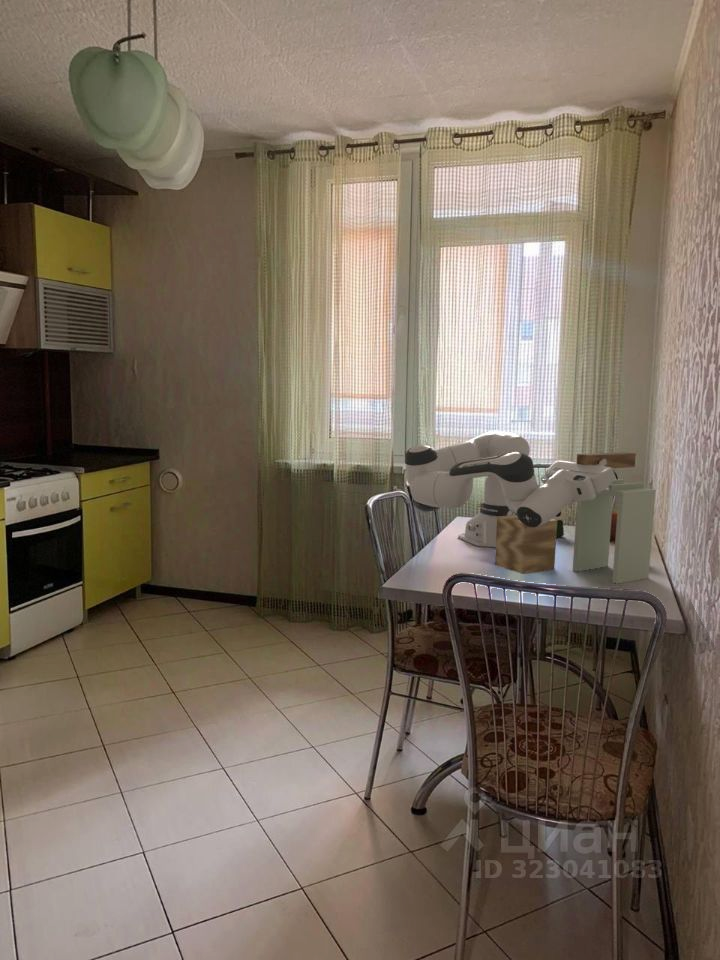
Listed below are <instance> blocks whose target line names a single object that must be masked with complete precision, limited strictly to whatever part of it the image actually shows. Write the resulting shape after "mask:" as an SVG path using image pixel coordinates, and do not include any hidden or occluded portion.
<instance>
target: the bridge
mask: <svg viewBox="0 0 720 960" xmlns="http://www.w3.org/2000/svg"><path fill="white" fill-rule="evenodd" d="M644 485H645V483H644V482H629V483H627V482H625V479H624V478H623V479H621V478H620V479H615V480H614V481H613V482H612V483H611V484H610V485H609V486H608V487H607V488H606V489H604V490H603V491H602V492H600V493H596V497H595V498H594V499H593V500H585V501H577V502H576V513H575V515H576V516H575V526H574V527H575V529H574V543H573V544H574V546H573V559H572V571H573V572H575V571H576V572H575V573H578V572H577V571H579V572H583V570H585V571H590V570H589V569H591V570H596V569H595V568H597V569H601V568H600V567H603V568H607V567H606V566H608V567H609V558H610V555H609V554H610V543H611V541H610V531H611V517H612V510H613V500H614V497H617V498H618V502H617V510H618V512H617V526H616V539H615V540H614V541H615V542H614V543H615V544H614V555H613V569H612V580H611V582H612V584H615V583H616V585H618V583H619V584H622V583H623V582H624V583H628V582H635V581H639V580H645V579H649V577H650V565H651V563H650V562H651V553H652V542H653V541H652V538H653V526H654V512H655V503H656V502H655V501H656V490H657V489H653V488H648V487H647V488H646V487H645V486H644Z"/></svg>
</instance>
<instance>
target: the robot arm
mask: <svg viewBox="0 0 720 960" xmlns="http://www.w3.org/2000/svg"><path fill="white" fill-rule="evenodd" d="M530 451H531V450H530V444H529V442H528V441H527V439H525V437H522V436H521V435H520V434H518V433H515V432H509V431H508V432H507V431H503V430H492V431H488V432H485V433H482V434H480V435H478V436H476V437H473V438H471V439H469V440H466V441H462V442H459V443H455V444H452V445H448V446H445V447H441V448H438V449H435V447H433V446H431V445H430V444H429V445H428V444H417V445H414V446H413V447H410V448H409V449H408V450H407V451H406V452H405V454H404V464H405V469H406V476H407V482H408V484H409V488H410V494H411V496H412V501H413V504H414V506H415V508H417V509H418V510H419V511H421V512H433V511H437V510H439V509H441V508H443V509H458V508H461V507H462V506H464V505H465V504H466V503H467V502H468V501H469V499H470V497H471V495H472V494H473V493H472V491H473V488H474V479H476V478H483V477H486V478H485V480H484V493H483V494H484V495H483V502H482V503H478V508H480V509H479V512H478V513H477V514H475V515H474V516H473V517H472V518H470V519H469V520H468V521H467V522H466V524H465V531H464V532H463V533H459V534H458V536H457V538H458V539H460V540H462V539H463V540H462V541H465V542H467V543H470V544H472V545H474V546H477V547H488V548H496V531H497V517H499V516H509V515H517V517H518V519H519V520H520V521H521V522H522V523H523V524H524V525H526V526H528V527H531V528H536V527H539V526H541V525H543V524H545V523H547V522H548V521H550V520H551V519H552V518H554V517H555V516H556V515H557V514H558V513H560V511H561V510H562V508H563V507H565V506H570V504H571V503H577V501H585V500H593V499H594V498H595V497H596V493H600V492H602V491H603V490H604V489H606V488H607V487H608V486H609V485H610V484H611V483H612V482H613V481H614V480H616V475H615V472H614V468H611V467H605V465H606V464H607V462H606V459H600V460H598V464H599V465H598V464H597V465H590V464H589V465H588V466H587V465H580V464H577V460H576V461H567V460H566V461H565V460H556V461H554V462H553V463H551V465H550V466H549V467H548V468H547V469H546V470H545V472H544V474H543V475H541V477H540V481H541V483H542V485H541V484H538V482H537V478H536V474H535V467H534V462H533V459H532V458H531V457H530Z"/></svg>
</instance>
